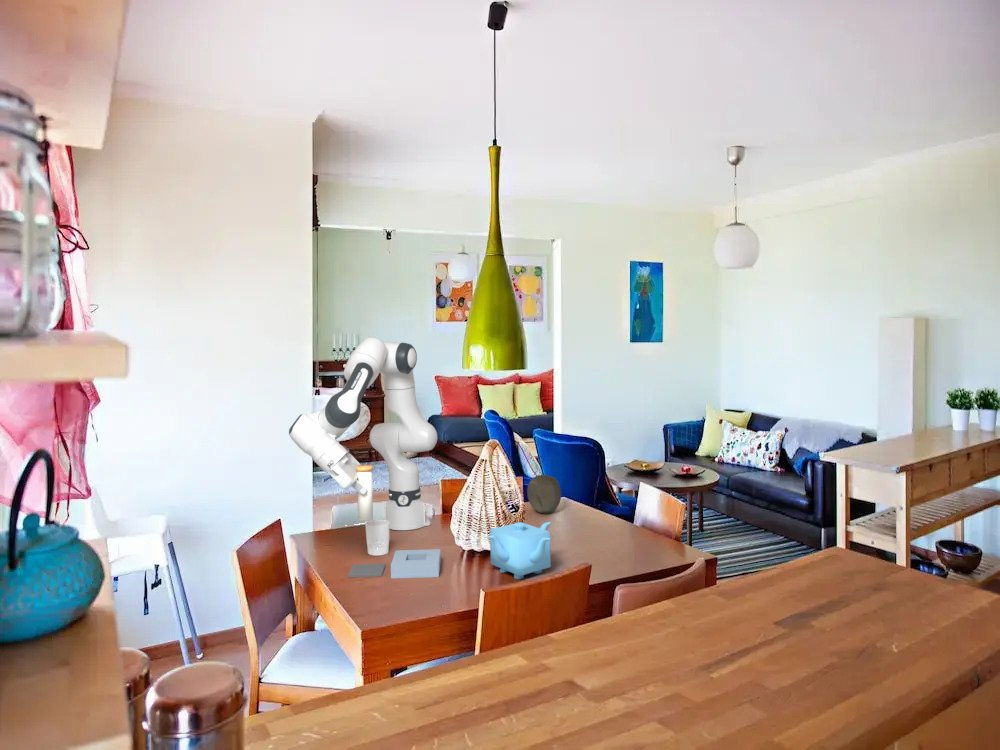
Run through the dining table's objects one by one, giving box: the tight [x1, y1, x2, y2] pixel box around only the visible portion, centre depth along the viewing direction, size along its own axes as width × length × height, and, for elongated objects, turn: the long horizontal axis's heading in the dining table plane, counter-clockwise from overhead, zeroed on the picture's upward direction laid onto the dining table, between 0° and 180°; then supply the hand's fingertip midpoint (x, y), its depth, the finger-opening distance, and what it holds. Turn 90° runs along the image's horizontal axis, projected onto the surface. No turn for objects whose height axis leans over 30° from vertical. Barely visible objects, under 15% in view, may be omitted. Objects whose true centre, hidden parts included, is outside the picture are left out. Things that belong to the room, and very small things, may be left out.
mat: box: [347, 562, 387, 578], centre depth 211 cm, size 10×10×1 cm
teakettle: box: [486, 521, 552, 580], centre depth 208 cm, size 19×19×15 cm
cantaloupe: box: [526, 474, 562, 515], centre depth 277 cm, size 14×14×15 cm
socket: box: [390, 548, 442, 579], centre depth 211 cm, size 14×14×4 cm
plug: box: [356, 464, 374, 522], centre depth 209 cm, size 5×5×16 cm
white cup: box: [364, 519, 391, 557], centre depth 228 cm, size 8×8×10 cm
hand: (367, 490), depth 209 cm, fingers closed on plug, 4 cm apart
